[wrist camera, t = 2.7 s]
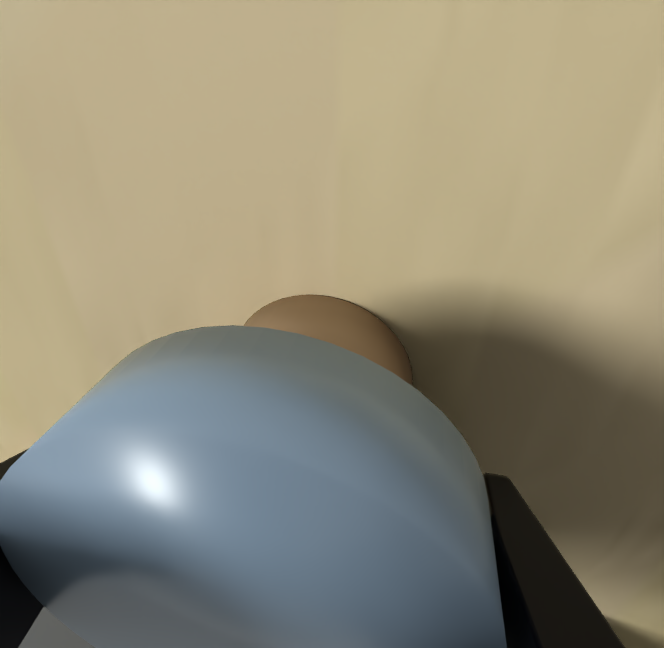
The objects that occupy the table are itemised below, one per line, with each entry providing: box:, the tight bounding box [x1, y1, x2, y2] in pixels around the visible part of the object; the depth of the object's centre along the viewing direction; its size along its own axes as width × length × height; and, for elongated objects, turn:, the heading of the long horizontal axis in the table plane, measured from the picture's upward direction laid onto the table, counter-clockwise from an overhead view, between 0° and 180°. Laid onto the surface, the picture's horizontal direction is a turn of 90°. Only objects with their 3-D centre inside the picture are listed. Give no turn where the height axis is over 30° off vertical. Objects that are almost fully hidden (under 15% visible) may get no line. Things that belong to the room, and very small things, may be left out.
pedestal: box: [244, 295, 413, 386], centre depth 9 cm, size 4×4×4 cm
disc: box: [0, 325, 507, 648], centre depth 7 cm, size 7×7×2 cm
